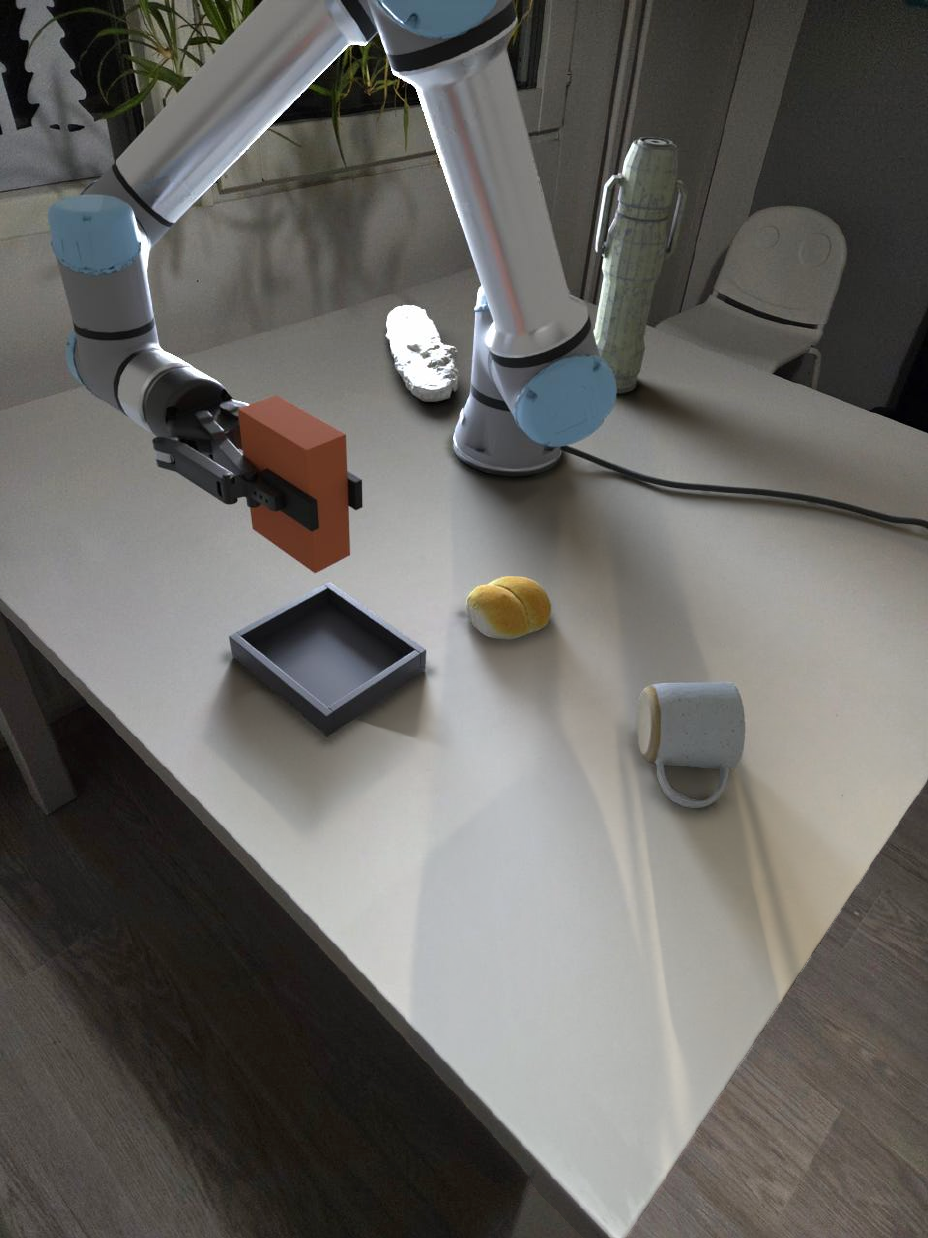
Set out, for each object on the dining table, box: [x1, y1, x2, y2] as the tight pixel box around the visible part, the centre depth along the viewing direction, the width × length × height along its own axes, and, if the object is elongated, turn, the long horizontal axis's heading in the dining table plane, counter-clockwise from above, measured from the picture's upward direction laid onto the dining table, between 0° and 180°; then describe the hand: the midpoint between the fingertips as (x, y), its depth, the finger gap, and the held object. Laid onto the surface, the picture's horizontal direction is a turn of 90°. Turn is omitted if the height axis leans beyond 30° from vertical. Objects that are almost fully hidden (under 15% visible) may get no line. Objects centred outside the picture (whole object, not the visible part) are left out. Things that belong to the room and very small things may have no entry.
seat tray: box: [228, 581, 427, 738], centre depth 81 cm, size 13×15×3 cm
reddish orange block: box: [237, 394, 351, 574], centre depth 71 cm, size 4×9×12 cm, turn 47°
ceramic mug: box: [636, 681, 746, 809], centre depth 72 cm, size 11×8×8 cm
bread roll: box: [465, 575, 552, 640], centre depth 88 cm, size 8×9×4 cm
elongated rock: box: [385, 304, 460, 403], centre depth 136 cm, size 35×5×10 cm
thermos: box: [593, 136, 689, 394], centre depth 124 cm, size 9×12×35 cm
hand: (336, 505), depth 68 cm, fingers closed on reddish orange block, 4 cm apart
